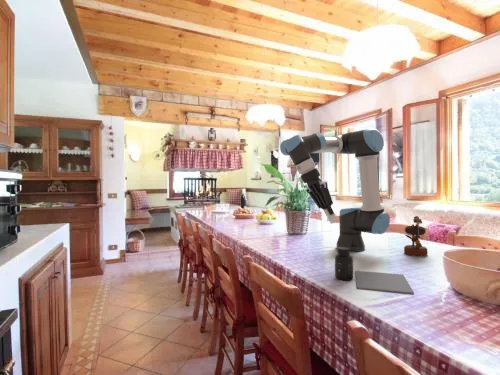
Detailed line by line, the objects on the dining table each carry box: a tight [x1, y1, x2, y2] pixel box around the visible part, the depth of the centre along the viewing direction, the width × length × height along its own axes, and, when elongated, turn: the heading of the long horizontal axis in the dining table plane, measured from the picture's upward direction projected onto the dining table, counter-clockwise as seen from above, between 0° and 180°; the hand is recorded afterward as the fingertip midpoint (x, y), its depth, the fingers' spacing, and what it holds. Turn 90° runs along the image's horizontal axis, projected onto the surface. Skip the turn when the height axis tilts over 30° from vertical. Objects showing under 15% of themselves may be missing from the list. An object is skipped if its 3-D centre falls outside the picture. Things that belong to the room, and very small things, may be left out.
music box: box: [403, 215, 428, 258], centre depth 150 cm, size 15×11×20 cm
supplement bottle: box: [334, 247, 354, 282], centre depth 113 cm, size 7×7×12 cm
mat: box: [354, 270, 415, 295], centre depth 109 cm, size 18×20×1 cm
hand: (334, 221), depth 119 cm, fingers closed
